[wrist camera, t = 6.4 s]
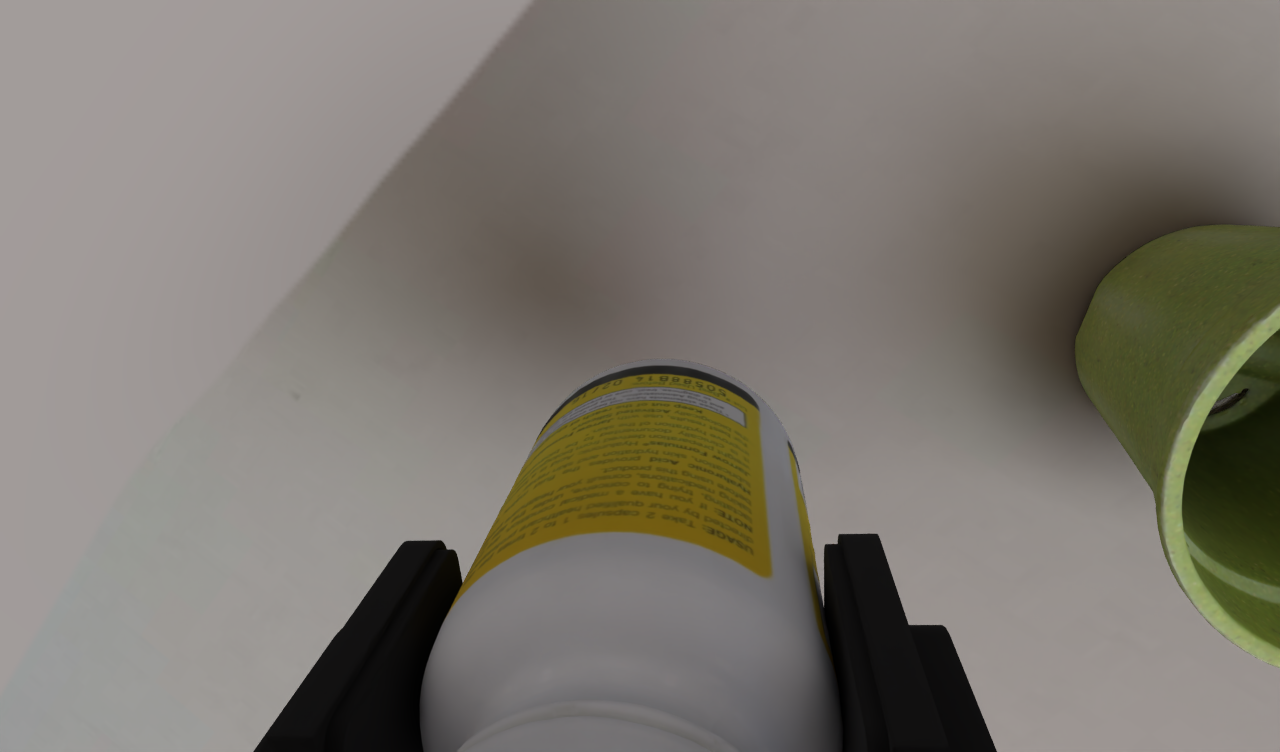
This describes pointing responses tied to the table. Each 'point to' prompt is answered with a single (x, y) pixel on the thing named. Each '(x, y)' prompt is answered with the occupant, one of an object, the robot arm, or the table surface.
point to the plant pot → (1200, 411)
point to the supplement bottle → (643, 585)
